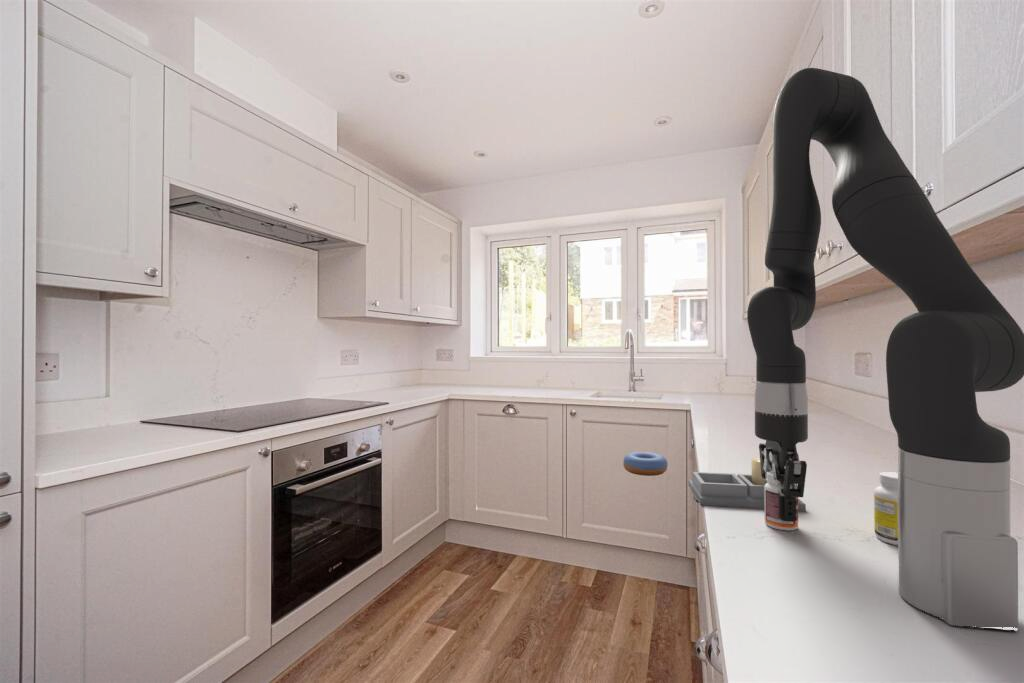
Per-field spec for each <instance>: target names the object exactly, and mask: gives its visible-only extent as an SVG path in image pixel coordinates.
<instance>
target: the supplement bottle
mask: <svg viewBox="0 0 1024 683" xmlns="http://www.w3.org/2000/svg"><path fill="white" fill-rule="evenodd" d="M879 483H880V484H881V485H878V486H877V487H875V488H874V491H873V506H874V508H873V510H874V511H873V512H874V513H873V516H874V518H873V519H874V522H873V523H874V535H875V537H876V538H877V539H879V540H880V541H882V542H885V543H888V544H891V545H895V546H898V472H894V471H893V472H891V471H882V472H879Z"/></svg>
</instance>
